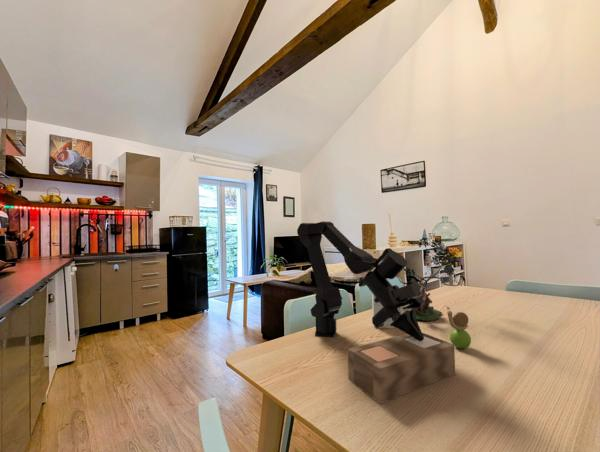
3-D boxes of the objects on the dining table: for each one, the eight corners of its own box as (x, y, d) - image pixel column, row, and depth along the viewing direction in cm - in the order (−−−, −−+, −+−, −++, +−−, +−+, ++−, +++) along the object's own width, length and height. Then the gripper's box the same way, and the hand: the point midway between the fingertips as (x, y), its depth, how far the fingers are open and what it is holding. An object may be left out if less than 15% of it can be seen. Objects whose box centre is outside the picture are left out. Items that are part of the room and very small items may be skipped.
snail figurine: (442, 344, 83) (441, 304, 83) (462, 343, 84) (461, 304, 84) (454, 352, 78) (453, 309, 78) (475, 351, 78) (474, 309, 78)
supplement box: (395, 328, 97) (394, 292, 97) (373, 327, 99) (372, 292, 99) (392, 321, 104) (391, 288, 105) (372, 320, 106) (371, 288, 106)
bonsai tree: (444, 334, 91) (441, 239, 92) (380, 317, 109) (378, 238, 110) (478, 312, 114) (476, 236, 115) (420, 301, 132) (419, 236, 133)
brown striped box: (380, 403, 55) (379, 368, 56) (348, 378, 65) (347, 349, 65) (455, 373, 66) (454, 344, 66) (418, 356, 76) (417, 330, 76)
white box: (424, 377, 65) (424, 347, 65) (404, 366, 70) (404, 339, 70) (441, 371, 67) (440, 342, 68) (421, 361, 73) (420, 334, 73)
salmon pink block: (379, 395, 58) (378, 361, 58) (360, 381, 64) (360, 351, 64) (399, 387, 61) (398, 355, 61) (380, 374, 66) (379, 345, 66)
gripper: (381, 275, 67) (427, 332, 58) (417, 267, 79) (460, 314, 71) (355, 302, 73) (395, 357, 64) (393, 291, 85) (430, 336, 77)
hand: (422, 339), depth 69 cm, fingers closed, pressing on white box
